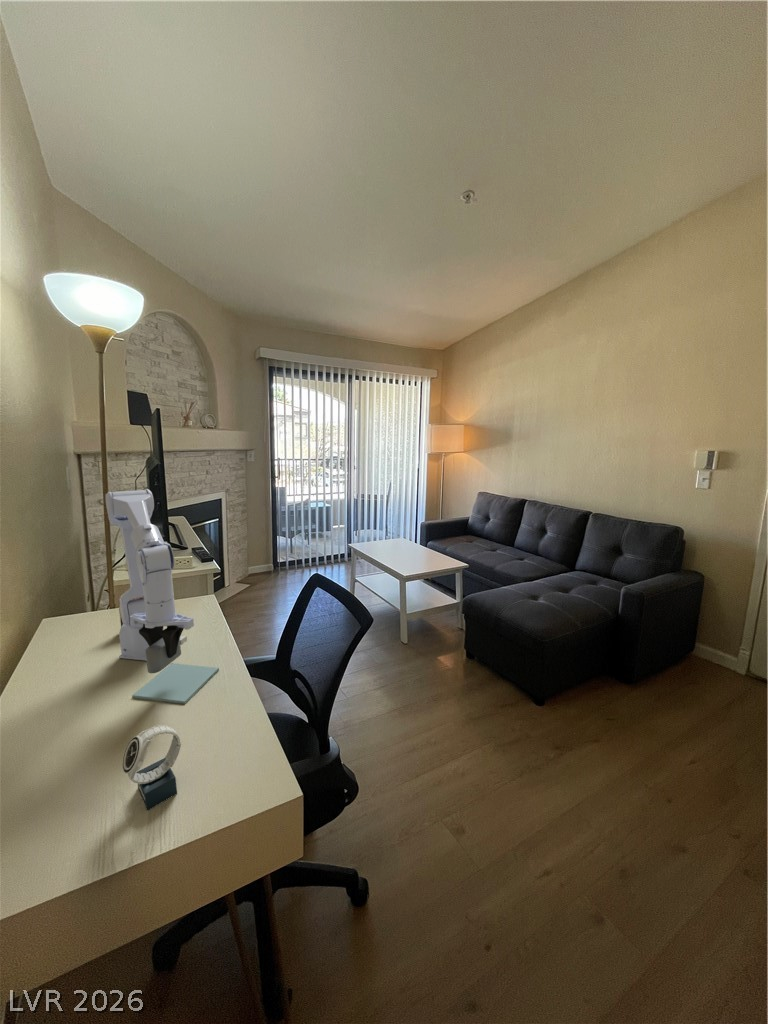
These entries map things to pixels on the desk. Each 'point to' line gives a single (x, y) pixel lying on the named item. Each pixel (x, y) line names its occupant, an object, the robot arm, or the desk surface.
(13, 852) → the desk surface
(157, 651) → the plug
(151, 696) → the mat
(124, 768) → the watch
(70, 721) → the desk surface
